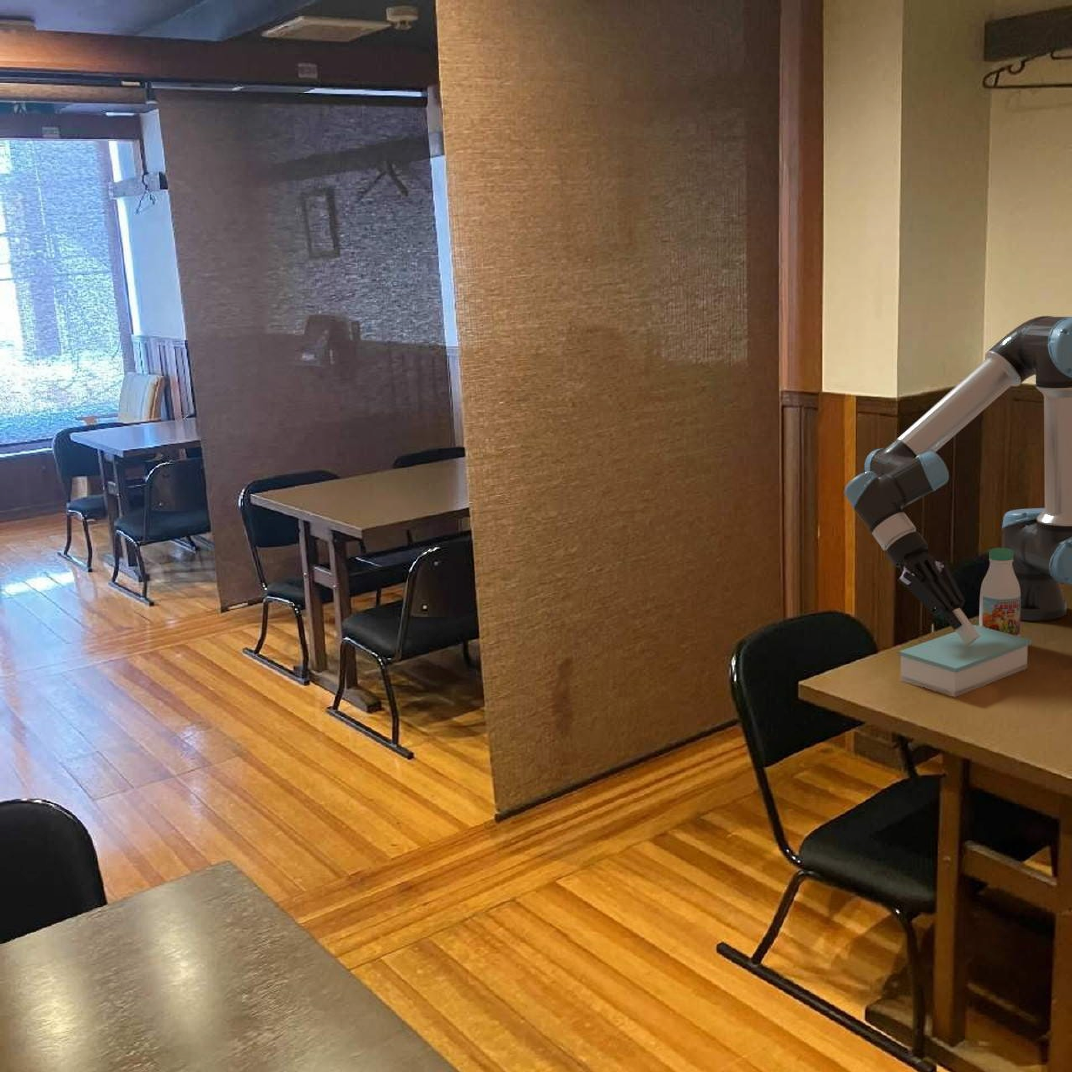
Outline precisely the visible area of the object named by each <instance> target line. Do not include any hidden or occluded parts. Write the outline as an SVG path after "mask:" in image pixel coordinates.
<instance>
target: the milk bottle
mask: <svg viewBox="0 0 1072 1072" xmlns="http://www.w3.org/2000/svg"><path fill="white" fill-rule="evenodd" d="M988 557H989V558H988V561H989V567H988V570H987V572H986V574H985V576H984V578H983V580H982V582H981V586H980V591H979V592H980V593H979V614H978V615H979V616H978V617H979V618H978V619H979V620H978V621H979V622H978V626H981V627H985V628H989V629H992V630H996V631H1000V632H1004V633H1008V634H1012V635H1015V636H1019V637H1021V635H1020V634H1021V620H1020V607H1021V592H1020V586H1019V582H1018V580H1017V578H1016V576H1015V573H1014V570H1013V567H1012V562H1013V561H1014V560H1013V557H1014V552H1013V550H1011V549H1007V548H1002V547H995V548H994V547H993V548H991V549H989V551H988Z"/></svg>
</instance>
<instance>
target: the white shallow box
mask: <svg viewBox="0 0 1072 1072" xmlns="http://www.w3.org/2000/svg"><path fill="white" fill-rule="evenodd" d="M1028 647H1029V645H1028V646H1025V647H1023V648H1020V649H1017V650H1015V651H1012V652H1009V653H1007V654H1004V655H1002V656H999V657H996V658H994V659H991V660H988V661H986V662H983V663H980V664H978V665H975V666H973V667H970V668H967V669H965V670H962V671H959V672H957V673H955V672H952V671H949V670H945V669H942V668H939V667H935V666H932V665H929V664H926V663H922V662H919V661H916V660H913V659H909V658H906V657H903V656H900V681H901V682H903V683H907V684H910V685H914V686H916V687H919V686H921V687H920V688H923V687H925V688H924V689H926V688H927V690H929V689H930V691H932V690H933V691H932V692H936V691H938V692H937V693H939V692H941V693H940V694H942V693H943V695H945V694H946V696H949V697H952V696H953V697H952V698H956V697H958V696H962V695H964V694H966V693H970V692H971V691H974V690H977V689H979V688H982V687H983V686H986V685H988V684H989V685H990V684H991V683H995V682H997V681H999V680H1001V679H1004V678H1006V677H1008V676H1012V675H1014V674H1016V673H1019V672H1021V671H1024V670H1026V669H1028Z"/></svg>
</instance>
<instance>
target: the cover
mask: <svg viewBox="0 0 1072 1072" xmlns="http://www.w3.org/2000/svg"><path fill="white" fill-rule="evenodd" d="M972 626H973V627H974V628H975V630H976V631H977V632H978V634H979V635H980V637H979V638H977V639H976V640H975V641H974V642H972V643H971V644H969V645H966V644H965V643H964V642H963V640H962V639H961V637H960V636H959V635H958V633H957V632H956V631H954V632H951V633H947V634H944V635H942V636H940V637H935V638H932V639H931V640H930V639H929V640H928V641H924V642H922V643H919V644H916V645H913V646H911V647H908V648H904V649H902V650H899V651H898V656H900V657H901V656H903V657H906V658H909V659H913V660H916V661H919V662H922V663H926V664H929V665H932V666H935V667H939V668H942V669H945V670H949V671H952V672H955V673H957V672H959V671H962V670H965V669H967V668H970V667H973V666H975V665H978V664H980V663H983V662H986V661H988V660H991V659H994V658H996V657H999V656H1002V655H1004V654H1007V653H1009V652H1012V651H1015V650H1017V649H1020V648H1023V647H1025V646H1028V647H1029V646H1030V645H1033V639H1031V638H1027V637H1022V636H1020V637H1019V636H1015V635H1012V634H1008V633H1004V632H1000V631H996V630H992V629H989V628H985V627H981V626H979V625H978V624H972Z"/></svg>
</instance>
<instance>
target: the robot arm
mask: <svg viewBox="0 0 1072 1072" xmlns="http://www.w3.org/2000/svg"><path fill="white" fill-rule="evenodd" d="M1033 376H1035V388H1036V389H1037V390H1038V391H1039V392H1040V393H1042V395H1043V414H1044V415H1043V419H1044V420H1043V424H1044V425H1043V428H1044V430H1043V431H1044V432H1043V434H1044V435H1043V439H1044V440H1043V442H1044V444H1043V445H1044V447H1043V448H1044V455H1043V456H1044V460H1043V462H1044V466H1043V467H1044V507H1039V508H1038V507H1036V508H1035V507H1034V508H1020V509H1013V510H1009V511H1006V512H1005V514H1004V515H1003V518H1002V519H1003V521H1002V526H1001V530H1002V543H1001V544H1002V545H1001V548H1007V549H1011V550H1013V552H1014V557H1013V560H1014V561H1013V562H1012V567H1013V570H1014V573H1015V576H1016V578H1017V580H1018V582H1019V586H1020V592H1021V607H1020V621H1029V622H1030V621H1031V622H1033V621H1038V622H1039V621H1051V620H1057V619H1060V618H1062V617H1065V615H1067V607H1068V606H1067V604H1068V603H1067V601H1066V599H1065V598H1064V593H1063V589H1062V586H1061V584H1066V585H1070V586H1072V316H1051V315H1041V316H1037V317H1034V318H1031V319H1029V320H1027V321H1024V322H1023V323H1021V324H1020V325H1018V326H1016V327H1015V328H1014V329H1013V330H1011V331H1010V332H1009V333H1008V334H1006V335H1005V336H1004V337H1003V338H1001V339H1000V340H999V341H998V342H996V343H995V344H994V345H993V346H992V347H991V348H990V349H988V351H987V352H985V354H984V360H983V362H982V363H981V364H979V365H978V366H977V367H976V368H975V369H973V370H972V371H971V372H970V373H969V374H968V375H967V376H966V377H964V378H963V379H962V380H961V381H960V382H959V383H958V384H957V385H956V386H954V387H953V388H952V389H951V390H950V391H949V392H948V393H947V394H945V395H944V396H943V397H942V398H941V399H940V400H939V401H938V402H936V403H935V404H934V405H933V406H932V407H931V408H930V409H929V410H928V411H926V413H924V414H923V415H922V416H921V417H920V418H919V419H917V421H916V422H914V423H912V425H911V426H909V428H907V429H906V430H905V431H904V432H903V433H901V434H900V436H899V437H897V438H896V439H895V440H893V442H892V443H891V444H889V445H888V446H887V447H885V448H884V447H883V448H878V449H877V448H876V449H874V450H873V451H870V453H869V454H868V455H867V457H866V459H865V460H864V461H865V462H864V471H865V472H862V473H860V474H858V475H857V476H854V478H852V479H851V480H850V481H849V482H848V483H847V485H846V486H845V487H844V488H845V489H844V492H843V493H844V495H845V498H846V499H847V501H848V503H849V504H850V505H851V508H852V510H853V512H855V513H856V514H857V515H858V517H859V518H860V520H861V521H862V523H863V524H864V525H865V526H866V527H867V529H868V531H870V533H871V535H872V536H873V538H874V539H875V540H876V541H877V543H878V544H879V546H880V547H881V548H882V549H881V550H882V551H885V552H886V553H885V554H886V556H887V558H888V559H889V560H890V562H891V563H892V565H893V566H894V567H896V568H900V571H901V572H902V574H901V576H900V577H899V578H898V579H897V582H898V583H899V584H900V585H902V586H903V587H905V588H906V589H907V590H908V591H909V592H910V593H911V594H912V595H913V596H914V597H915V598H916V599H917V600H918V601H919V602H920V603H921V605H923V606H924V607H925V609H927V610H928V611H929V612H930V613H931V614H932V615H933V616H934V617H937V616H938V619H940V620H942V619H944V618H945V620H946V621H947V622H948V624H949V625H950V626H951V628H952V629H953V630H954V631H955V632H957V633H958V635H959V636H960V637H961V639H962V640H963V642H964V643H965V644H966V645H969V644H971V643H972V642H974V641H975V640H976V639H977V638H979V637H980V635H979V634H978V632H977V631H976V630H975V628H974V627H973V624H972V623H971V620H970V618H969V617H968V616H967V614H966V613H965V611H964V610H963V609H962V607H964V605H965V603H966V600H965V598H964V596H963V593H962V592H961V590H960V588H959V587H958V586H959V585H958V584H957V582H956V580H955V578H954V577H953V575H952V572H951V571H950V566H949V562H948V561H947V560H943V561H941V562H940V561H937V560H936V558H935V557H934V556H932V555H931V554H930V553H929V552H928V548H929V545H928V543H927V541H926V540H925V538H924V537H923V536H922V535H921V533H920V532H919V531H917V528H916V526H915V525H914V523H913V522H912V521H911V519H910V518H909V517H908V515H907V514H906V513H905V511H904V509H903V508H905V507H906V506H908V505H910V504H912V503H914V502H916V501H917V500H920V499H921V498H924V497H925V496H927V495H929V494H931V493H932V492H936V490H937V489H939V488H941V487H943V486H944V485H946V484H947V482H948V481H949V479H950V476H949V475H950V473H949V470H948V468H947V465H946V464H945V462H944V460H943V458H942V457H940V455H938V453H936V452H938V450H940V449H941V448H942V447H944V445H946V443H948V442H949V441H950V440H951V439H952V438H953V437H954V436H956V435H957V434H958V433H959V432H960V431H961V430H962V429H963V428H965V427H966V426H967V425H968V424H969V423H971V422H972V421H973V420H974V419H975V418H976V417H977V416H979V415H980V413H982V412H983V411H984V410H985V409H986V408H987V407H989V406H990V405H991V404H992V403H993V402H994V401H995V400H997V398H998V399H999V397H1000V396H1001V395H1002V394H1003V393H1004V392H1006V391H1007V390H1008V389H1009V388H1010V387H1019V386H1020V385H1021V384H1022V383H1023V382H1024V381H1026V380H1027V379H1029V378H1031V377H1033Z"/></svg>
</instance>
